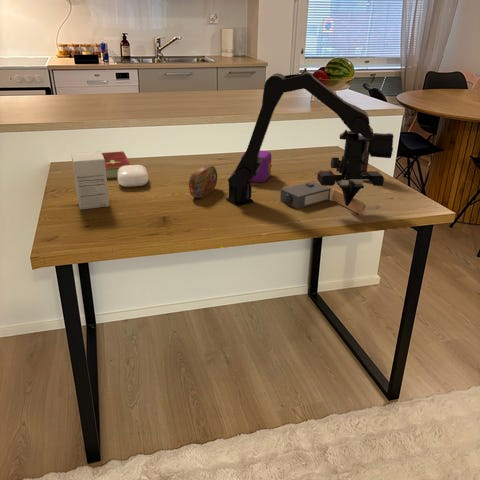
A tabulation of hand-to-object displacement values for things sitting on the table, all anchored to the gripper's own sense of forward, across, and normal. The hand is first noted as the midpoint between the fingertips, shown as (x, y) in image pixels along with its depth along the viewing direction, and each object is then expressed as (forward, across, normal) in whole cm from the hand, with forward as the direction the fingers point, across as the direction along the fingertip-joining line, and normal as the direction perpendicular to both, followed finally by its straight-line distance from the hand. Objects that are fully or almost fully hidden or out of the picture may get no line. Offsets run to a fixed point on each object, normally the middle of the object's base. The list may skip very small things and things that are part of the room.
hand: (346, 205), depth 145 cm
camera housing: (+2, +11, -9) cm, 14 cm away
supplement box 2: (+2, -14, -34) cm, 36 cm away
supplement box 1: (+3, +77, -10) cm, 78 cm away
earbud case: (+3, +67, -29) cm, 73 cm away
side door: (+2, -1, -3) cm, 4 cm away
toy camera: (+2, +23, -33) cm, 41 cm away
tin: (+3, +43, -17) cm, 46 cm away
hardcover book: (+4, +76, -45) cm, 88 cm away
